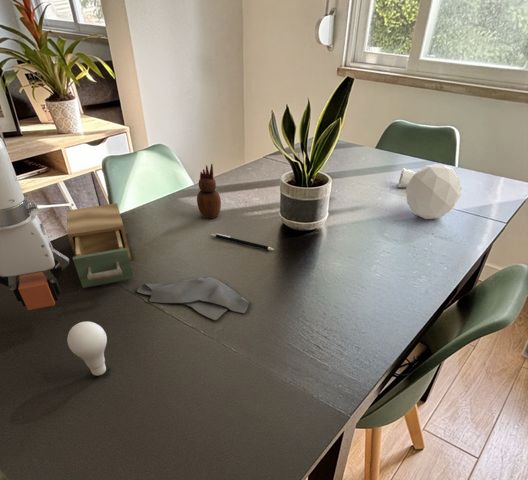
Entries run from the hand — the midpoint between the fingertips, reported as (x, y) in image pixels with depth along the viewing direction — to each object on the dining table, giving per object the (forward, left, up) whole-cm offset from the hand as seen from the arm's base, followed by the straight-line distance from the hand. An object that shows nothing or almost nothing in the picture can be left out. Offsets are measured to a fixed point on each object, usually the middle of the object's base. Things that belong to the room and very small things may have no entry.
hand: (41, 299), depth 85 cm
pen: (+33, +39, -5) cm, 51 cm away
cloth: (+27, +14, -6) cm, 31 cm away
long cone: (+85, +86, -6) cm, 121 cm away
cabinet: (-3, +30, -5) cm, 30 cm away
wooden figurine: (+19, +55, -6) cm, 58 cm away
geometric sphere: (+82, +64, -6) cm, 104 cm away
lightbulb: (+17, -13, -6) cm, 23 cm away
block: (0, 0, 0) cm, 0 cm away
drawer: (+4, +18, -5) cm, 19 cm away
